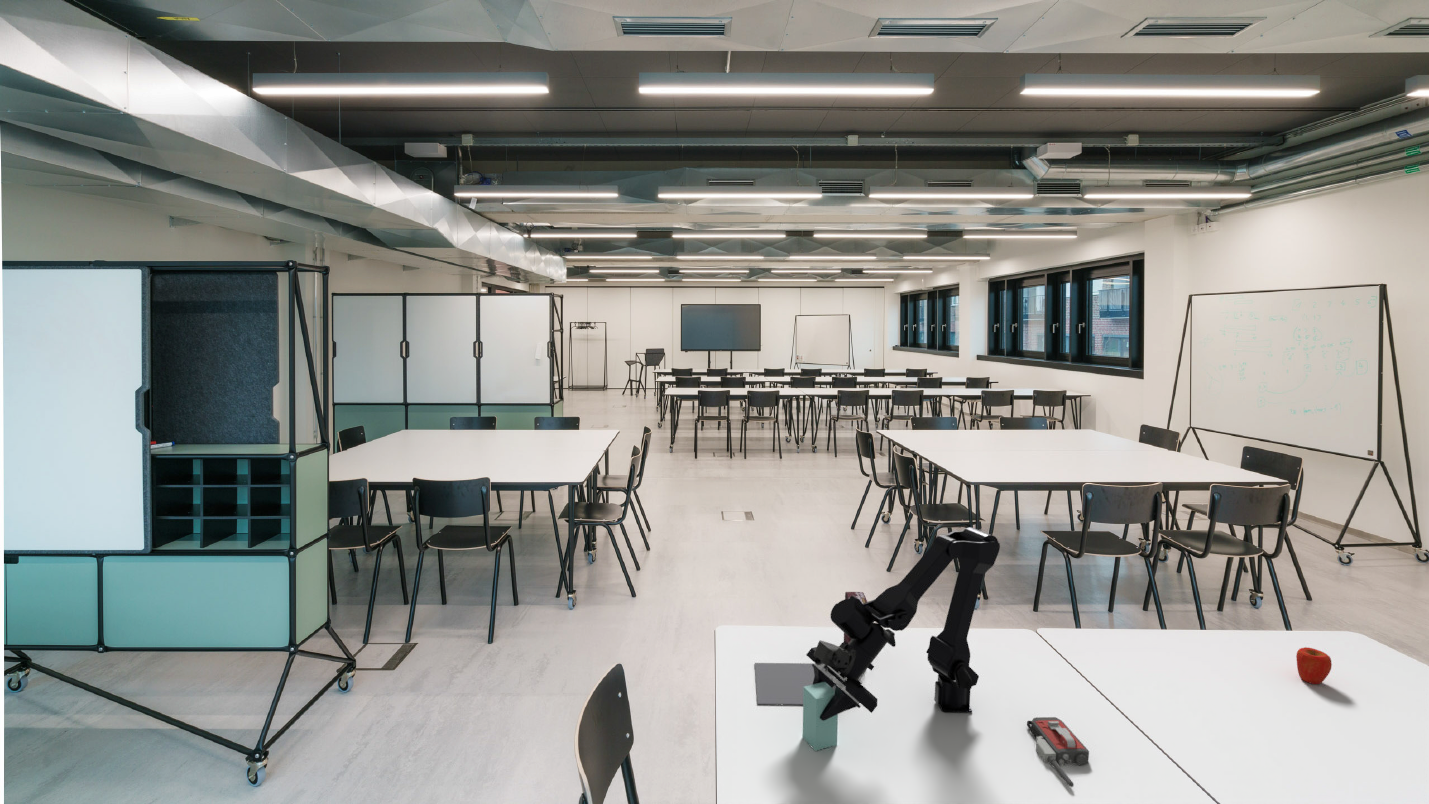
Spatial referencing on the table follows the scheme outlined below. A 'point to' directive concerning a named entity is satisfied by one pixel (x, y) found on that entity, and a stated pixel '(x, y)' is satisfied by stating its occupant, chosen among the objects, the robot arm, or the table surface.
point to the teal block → (818, 716)
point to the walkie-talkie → (1057, 744)
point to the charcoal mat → (783, 682)
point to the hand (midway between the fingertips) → (814, 712)
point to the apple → (1313, 665)
